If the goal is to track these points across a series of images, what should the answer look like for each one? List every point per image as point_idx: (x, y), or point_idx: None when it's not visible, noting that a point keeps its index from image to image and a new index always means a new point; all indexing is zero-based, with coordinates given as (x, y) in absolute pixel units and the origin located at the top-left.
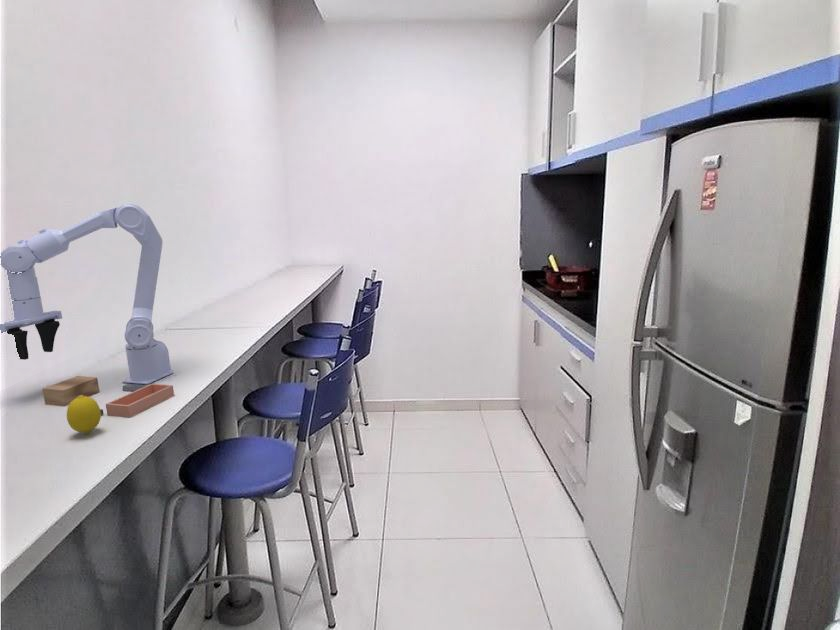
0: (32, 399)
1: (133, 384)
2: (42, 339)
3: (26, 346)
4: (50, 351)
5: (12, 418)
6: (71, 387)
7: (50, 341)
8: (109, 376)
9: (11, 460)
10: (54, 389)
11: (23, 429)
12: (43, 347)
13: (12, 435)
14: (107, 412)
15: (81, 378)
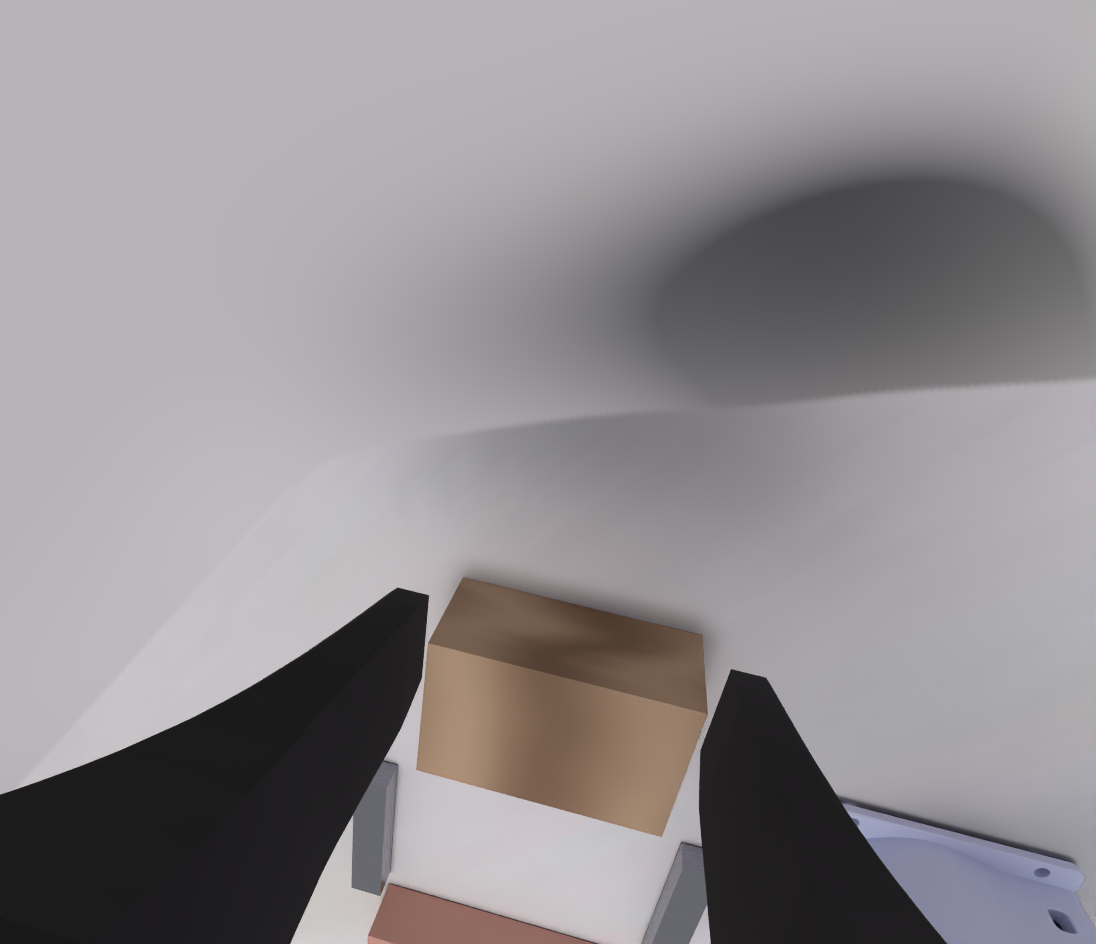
0: (528, 440)
1: (704, 906)
2: (763, 837)
3: (330, 841)
4: (700, 760)
5: (265, 547)
6: (474, 784)
7: (710, 916)
8: (1020, 668)
9: (37, 781)
10: (424, 721)
11: (195, 677)
12: (738, 717)
13: (144, 673)
14: (384, 896)
15: (643, 763)
